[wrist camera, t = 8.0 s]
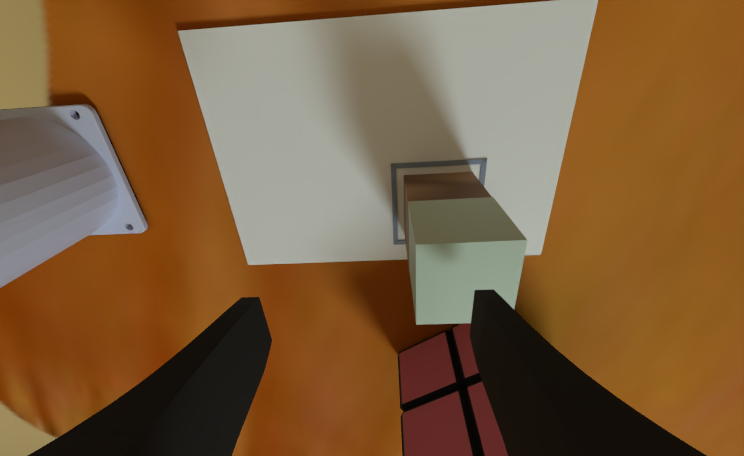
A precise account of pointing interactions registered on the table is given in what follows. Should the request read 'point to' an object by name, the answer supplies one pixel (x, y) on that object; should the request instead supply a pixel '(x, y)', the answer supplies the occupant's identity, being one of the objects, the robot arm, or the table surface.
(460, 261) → the sage block
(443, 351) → the puzzle cube
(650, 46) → the table surface
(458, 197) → the walnut block
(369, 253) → the board
